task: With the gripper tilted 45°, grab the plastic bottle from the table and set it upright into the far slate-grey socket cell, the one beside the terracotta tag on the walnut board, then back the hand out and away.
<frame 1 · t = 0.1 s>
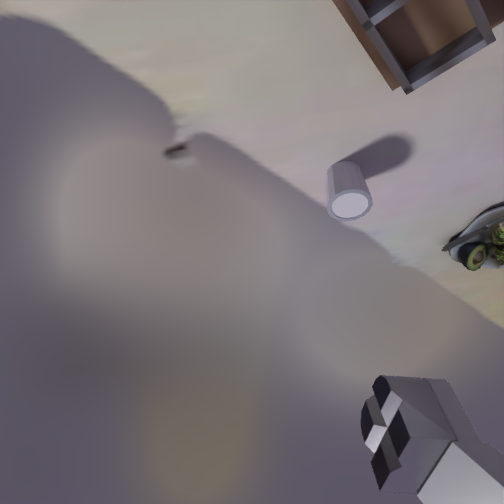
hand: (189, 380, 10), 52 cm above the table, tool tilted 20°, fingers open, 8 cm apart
salad plate: (495, 233, 88), on the table
shot glass: (342, 173, 75), on the table
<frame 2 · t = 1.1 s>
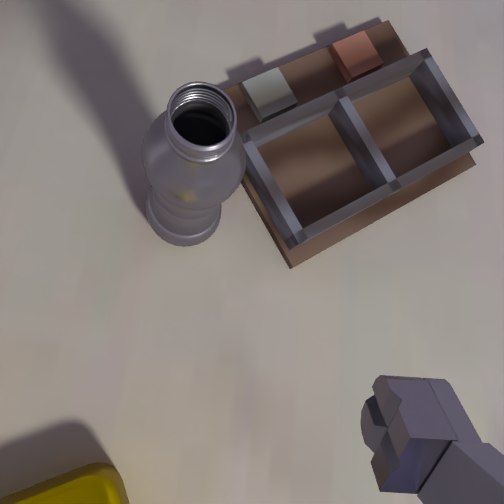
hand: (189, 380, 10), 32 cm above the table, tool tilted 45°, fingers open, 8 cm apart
socket board: (340, 138, 48), on the table
plastic bottle: (182, 216, 43), on the table
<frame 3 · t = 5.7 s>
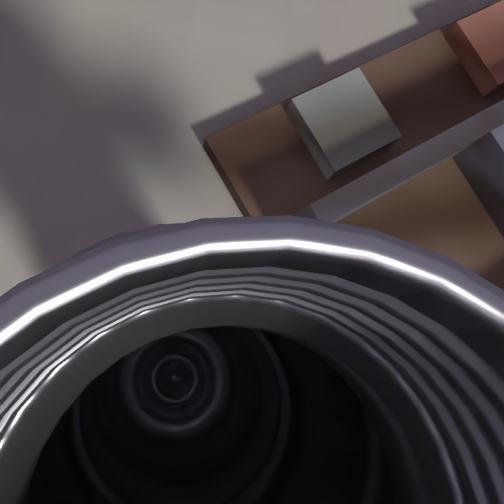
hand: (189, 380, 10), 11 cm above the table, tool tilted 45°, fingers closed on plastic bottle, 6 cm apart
socket board: (473, 199, 25), on the table
plastic bottle: (175, 379, 21), on the table, touching gripper
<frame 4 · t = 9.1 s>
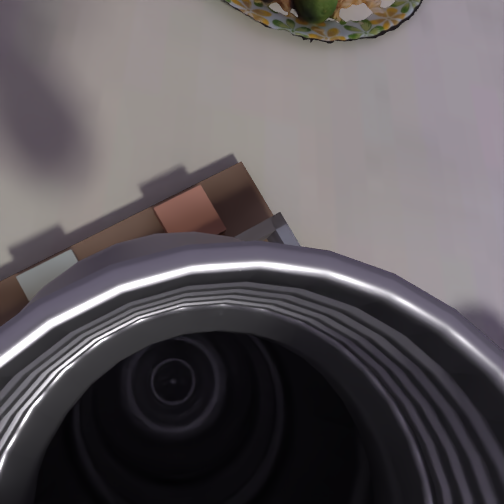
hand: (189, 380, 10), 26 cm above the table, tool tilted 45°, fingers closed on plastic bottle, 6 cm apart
socket board: (170, 331, 36), on the table
plastic bottle: (173, 381, 21), point 14 cm above the table, touching gripper
when the fingers open (14 cm above the table, at t = 13.0 s): plastic bottle moves 2 cm, resting on socket board.
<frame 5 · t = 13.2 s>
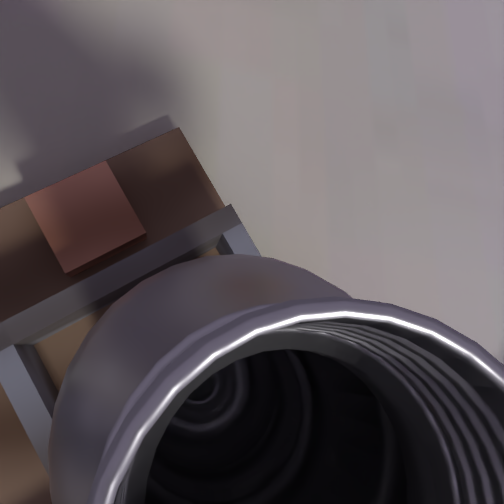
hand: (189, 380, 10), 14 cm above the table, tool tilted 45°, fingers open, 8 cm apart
socket board: (53, 398, 22), on the table
plastic bottle: (198, 381, 22), point 1 cm above the table, touching gripper, socket board
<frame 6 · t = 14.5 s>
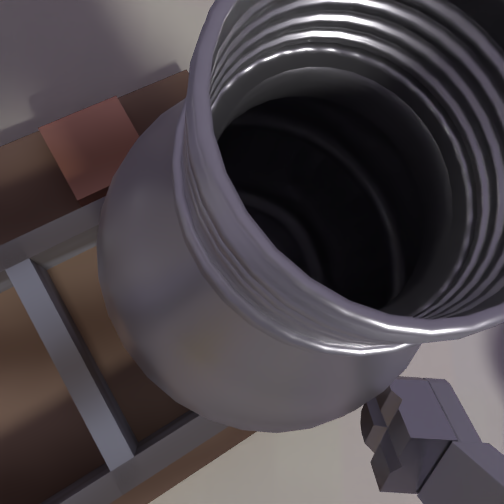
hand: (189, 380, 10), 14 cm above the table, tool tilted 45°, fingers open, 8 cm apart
socket board: (65, 323, 23), on the table
plastic bottle: (204, 309, 23), point 1 cm above the table, touching socket board
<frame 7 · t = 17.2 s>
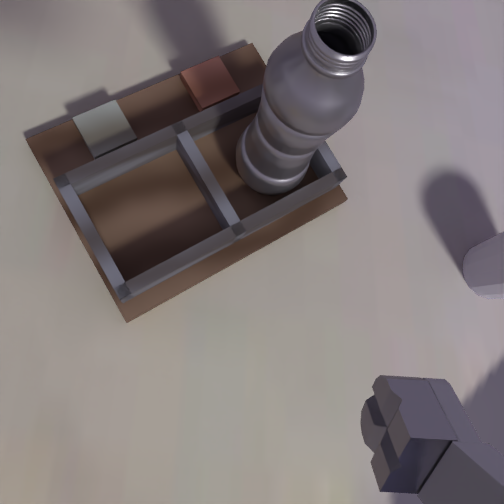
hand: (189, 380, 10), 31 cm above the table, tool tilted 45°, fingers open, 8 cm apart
socket board: (194, 174, 44), on the table
plastic bottle: (265, 168, 44), point 1 cm above the table, touching socket board
shot glass: (486, 271, 47), on the table
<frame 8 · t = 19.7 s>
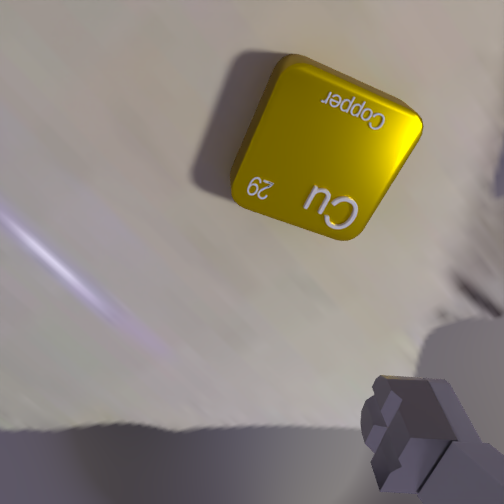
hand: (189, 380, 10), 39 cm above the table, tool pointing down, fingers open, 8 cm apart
element tile: (316, 145, 49), on the table
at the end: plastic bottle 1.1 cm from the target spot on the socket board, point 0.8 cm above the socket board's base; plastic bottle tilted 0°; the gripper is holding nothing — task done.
